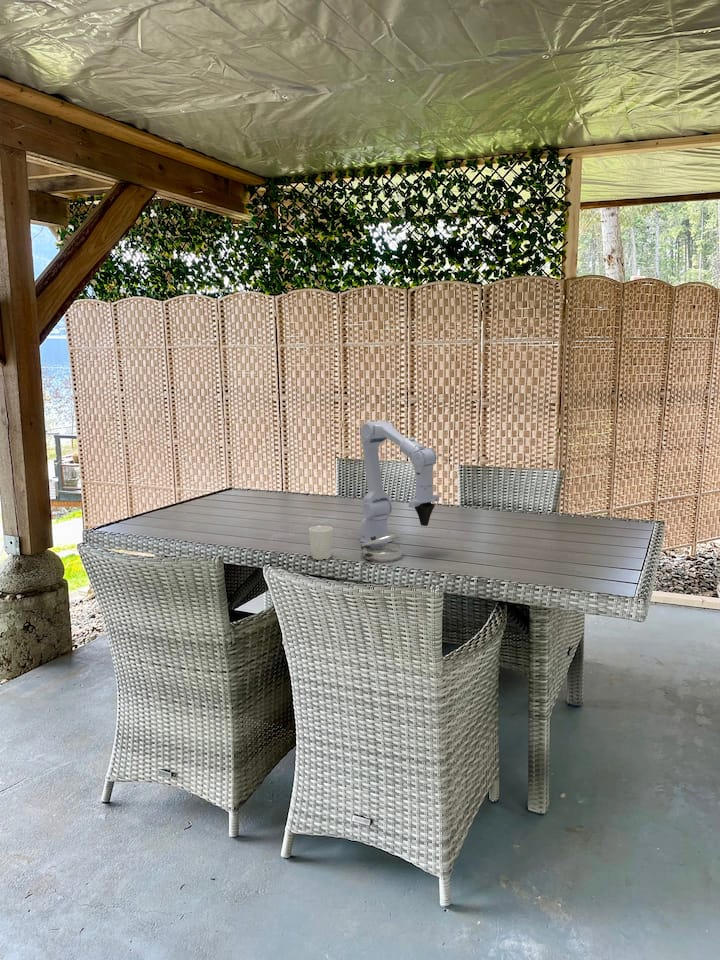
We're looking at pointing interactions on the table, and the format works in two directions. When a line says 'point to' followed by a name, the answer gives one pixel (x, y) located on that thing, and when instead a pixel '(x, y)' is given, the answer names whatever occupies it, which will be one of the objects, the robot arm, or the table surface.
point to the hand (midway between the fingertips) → (424, 525)
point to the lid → (380, 539)
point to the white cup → (321, 542)
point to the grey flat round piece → (382, 552)
